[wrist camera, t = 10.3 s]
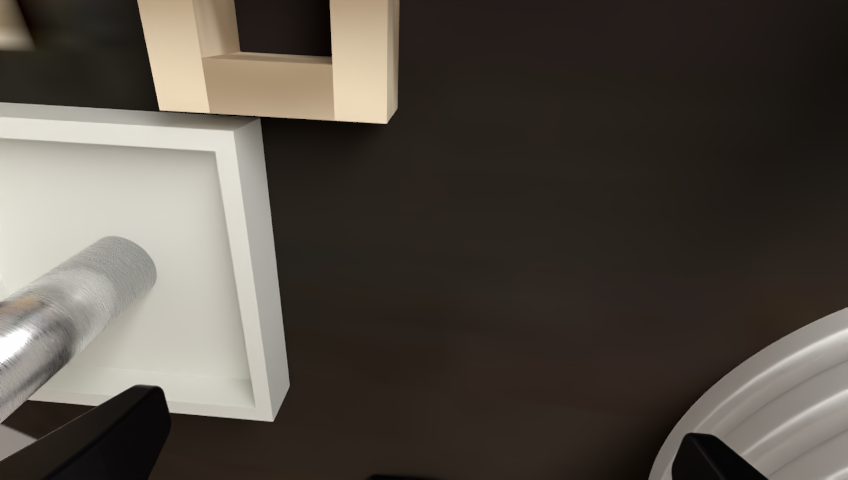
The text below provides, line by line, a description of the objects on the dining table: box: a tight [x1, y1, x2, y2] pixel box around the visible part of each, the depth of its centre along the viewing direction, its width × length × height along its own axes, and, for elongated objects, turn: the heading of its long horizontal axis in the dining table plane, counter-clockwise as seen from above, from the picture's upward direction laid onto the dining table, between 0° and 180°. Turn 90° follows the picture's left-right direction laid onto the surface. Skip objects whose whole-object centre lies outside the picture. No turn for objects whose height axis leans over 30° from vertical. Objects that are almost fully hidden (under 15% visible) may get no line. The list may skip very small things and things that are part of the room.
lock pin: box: [0, 236, 157, 423], centre depth 18 cm, size 3×3×9 cm
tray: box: [0, 102, 290, 422], centre depth 21 cm, size 15×15×2 cm
